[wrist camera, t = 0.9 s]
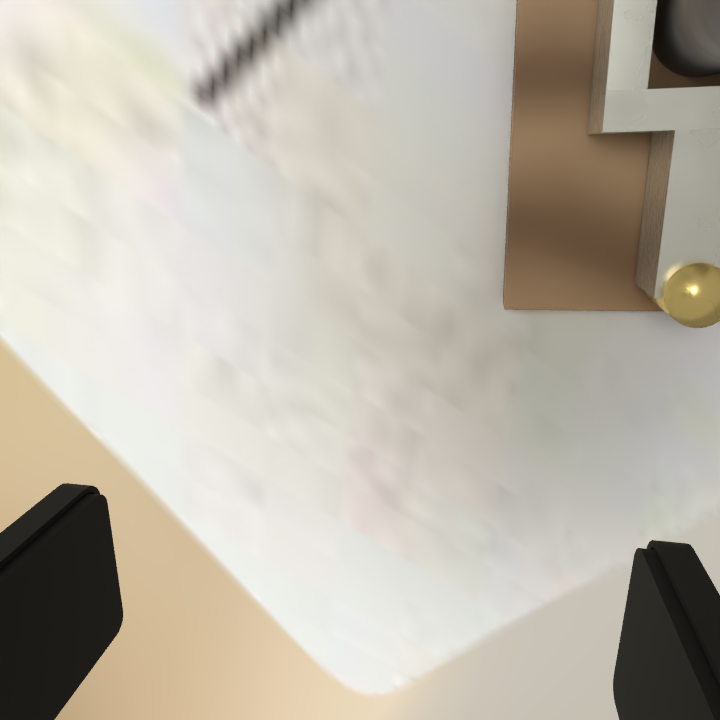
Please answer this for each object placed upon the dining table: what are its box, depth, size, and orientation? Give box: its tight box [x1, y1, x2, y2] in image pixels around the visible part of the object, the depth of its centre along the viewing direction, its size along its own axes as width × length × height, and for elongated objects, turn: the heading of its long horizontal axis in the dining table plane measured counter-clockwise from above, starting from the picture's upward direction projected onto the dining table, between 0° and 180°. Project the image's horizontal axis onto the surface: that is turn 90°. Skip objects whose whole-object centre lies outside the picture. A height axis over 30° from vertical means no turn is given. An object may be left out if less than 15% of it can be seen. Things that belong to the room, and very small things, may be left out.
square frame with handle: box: [588, 0, 720, 328], centre depth 23 cm, size 15×8×4 cm, turn 2°
